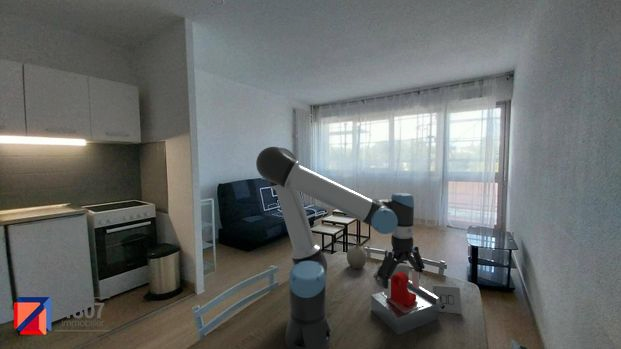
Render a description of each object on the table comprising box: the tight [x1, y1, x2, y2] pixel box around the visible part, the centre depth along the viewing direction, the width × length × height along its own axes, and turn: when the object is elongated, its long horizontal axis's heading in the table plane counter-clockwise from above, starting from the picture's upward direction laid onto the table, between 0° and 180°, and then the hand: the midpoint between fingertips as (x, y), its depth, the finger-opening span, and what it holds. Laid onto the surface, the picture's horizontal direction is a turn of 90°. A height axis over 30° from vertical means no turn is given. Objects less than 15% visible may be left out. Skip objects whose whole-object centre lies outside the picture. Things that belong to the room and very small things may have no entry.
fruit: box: [346, 236, 369, 270], centre depth 124 cm, size 10×12×15 cm
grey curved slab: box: [373, 259, 410, 282], centre depth 114 cm, size 17×5×10 cm, turn 103°
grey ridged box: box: [370, 279, 440, 336], centre depth 86 cm, size 19×14×8 cm
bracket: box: [390, 272, 416, 306], centre depth 85 cm, size 9×6×10 cm
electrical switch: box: [432, 284, 463, 315], centre depth 89 cm, size 9×5×9 cm, turn 78°
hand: (401, 291), depth 86 cm, fingers open, 13 cm apart
